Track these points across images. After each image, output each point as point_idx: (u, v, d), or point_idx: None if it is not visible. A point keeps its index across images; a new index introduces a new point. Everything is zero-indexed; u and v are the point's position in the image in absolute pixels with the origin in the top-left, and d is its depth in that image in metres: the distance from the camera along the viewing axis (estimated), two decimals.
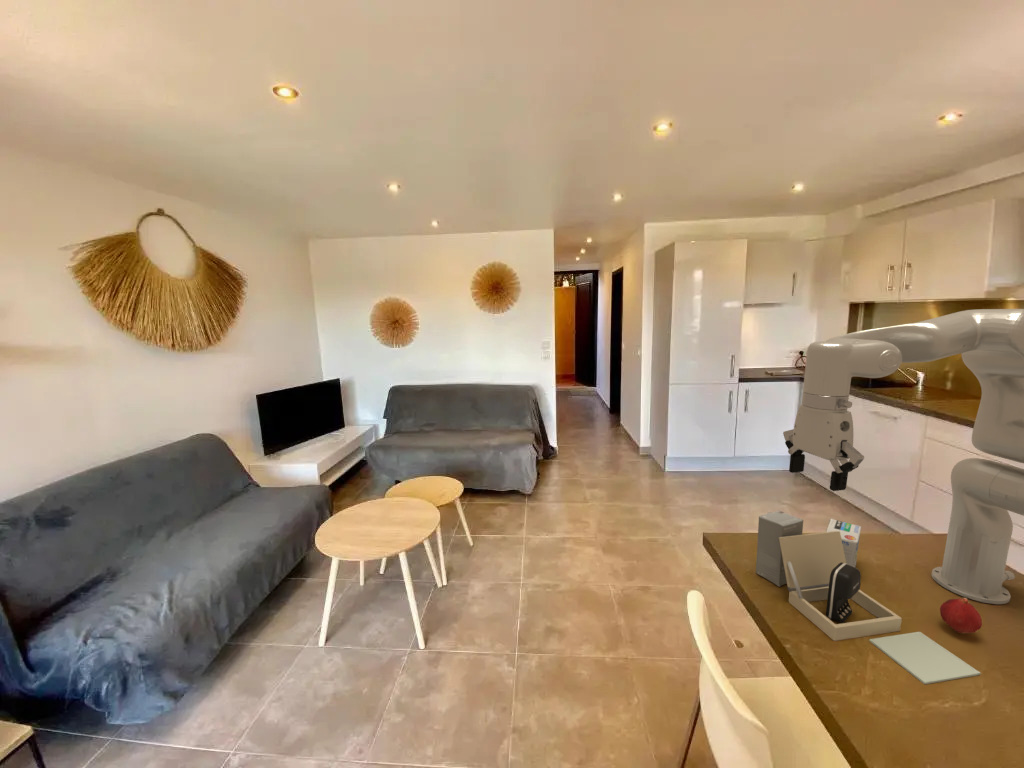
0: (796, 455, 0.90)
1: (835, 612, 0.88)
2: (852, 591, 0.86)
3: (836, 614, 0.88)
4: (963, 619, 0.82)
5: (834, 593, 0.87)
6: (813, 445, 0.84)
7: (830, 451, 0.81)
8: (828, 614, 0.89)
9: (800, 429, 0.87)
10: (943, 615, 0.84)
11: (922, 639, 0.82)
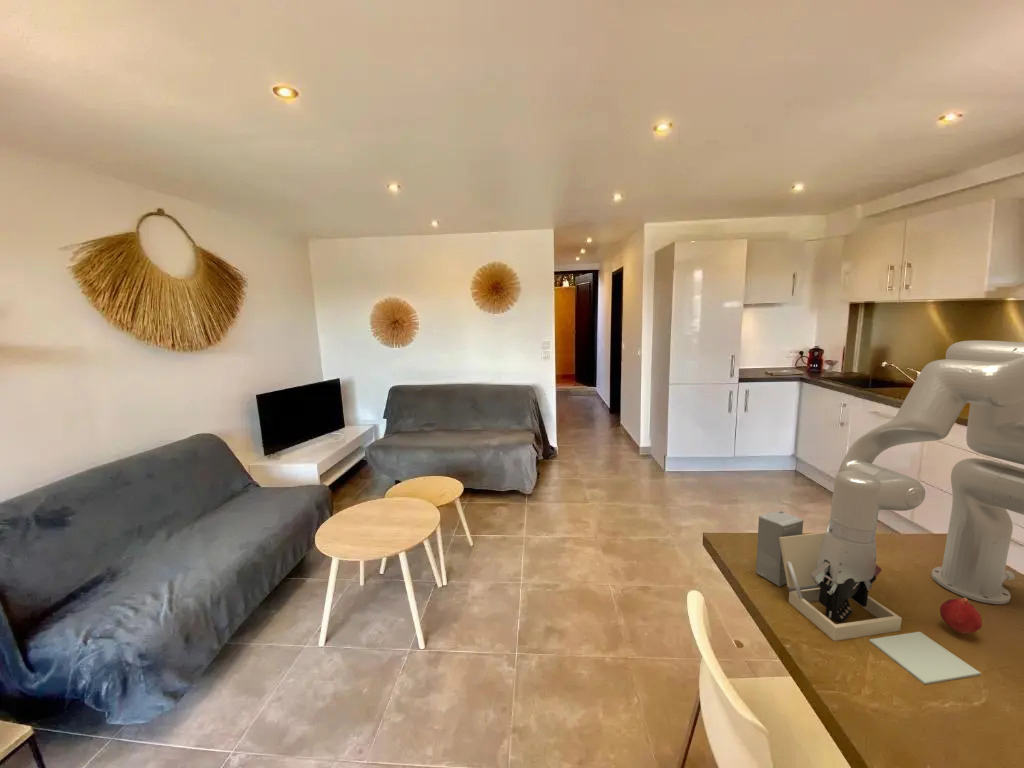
0: None
1: (835, 612, 0.88)
2: (852, 591, 0.86)
3: (836, 614, 0.88)
4: (963, 619, 0.82)
5: (834, 593, 0.87)
6: (860, 574, 0.86)
7: (873, 572, 0.86)
8: (828, 614, 0.89)
9: (847, 565, 0.85)
10: (943, 615, 0.84)
11: (922, 639, 0.82)
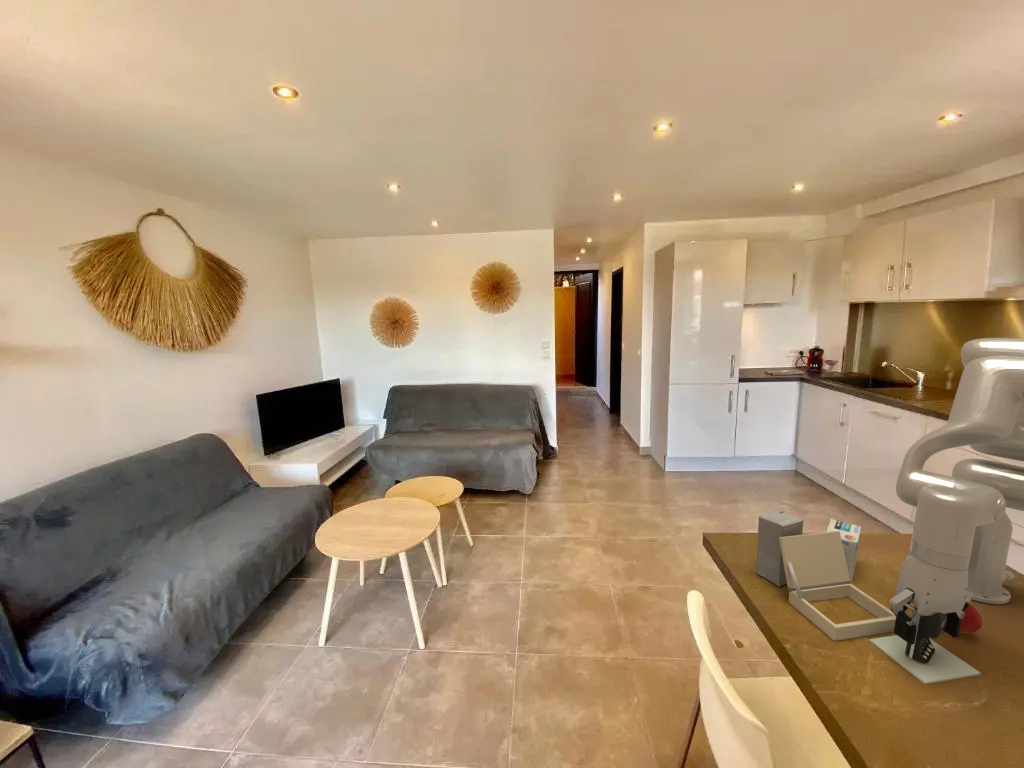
0: None
1: (918, 652, 0.77)
2: (940, 629, 0.75)
3: (919, 654, 0.77)
4: (963, 619, 0.82)
5: (918, 630, 0.76)
6: (949, 605, 0.74)
7: (964, 602, 0.75)
8: (908, 653, 0.78)
9: (936, 595, 0.73)
10: None
11: None
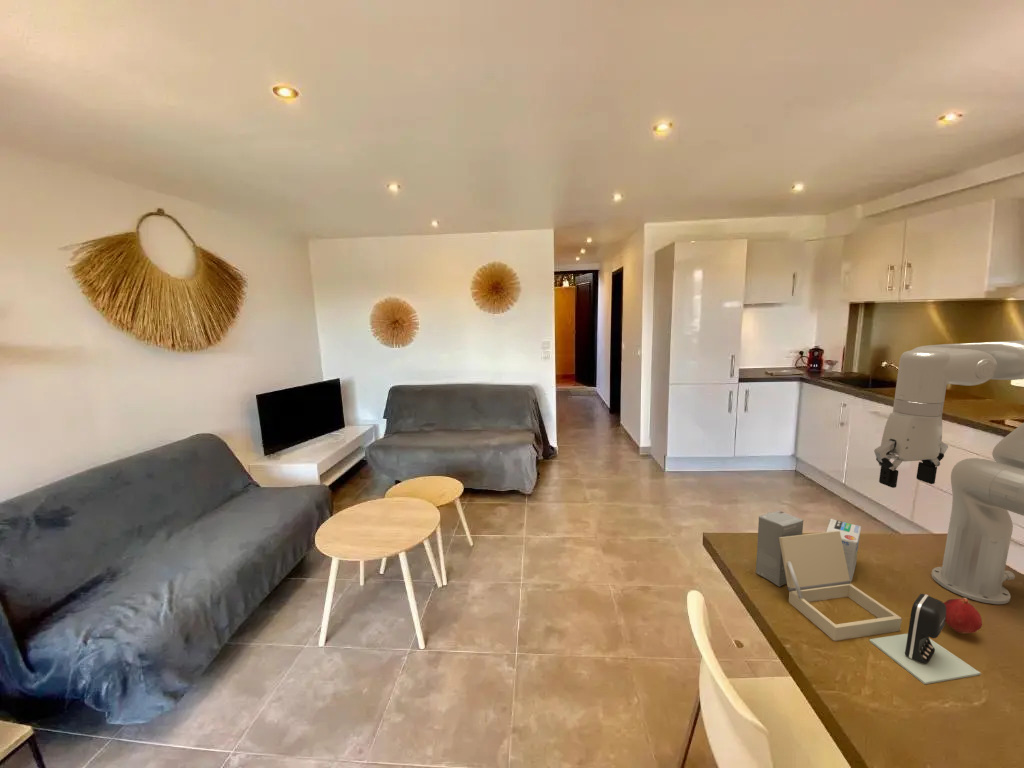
0: None
1: (917, 652, 0.77)
2: (939, 629, 0.75)
3: (919, 654, 0.77)
4: (964, 619, 0.82)
5: (917, 630, 0.76)
6: (926, 451, 0.86)
7: (939, 450, 0.87)
8: (908, 653, 0.78)
9: (914, 441, 0.86)
10: None
11: None
